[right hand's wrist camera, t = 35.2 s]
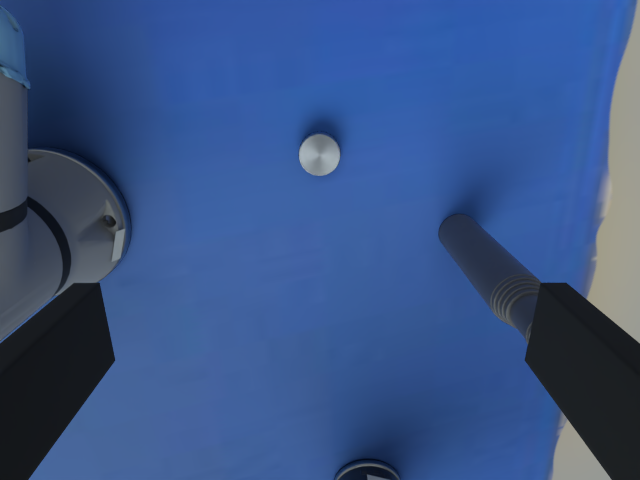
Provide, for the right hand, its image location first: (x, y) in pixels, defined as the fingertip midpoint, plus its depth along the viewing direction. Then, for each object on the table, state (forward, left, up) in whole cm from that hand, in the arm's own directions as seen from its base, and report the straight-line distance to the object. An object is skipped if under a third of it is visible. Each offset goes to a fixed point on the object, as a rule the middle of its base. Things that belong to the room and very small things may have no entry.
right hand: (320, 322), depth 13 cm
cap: (0, 0, -31) cm, 31 cm away
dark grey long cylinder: (+3, -17, -33) cm, 37 cm away
